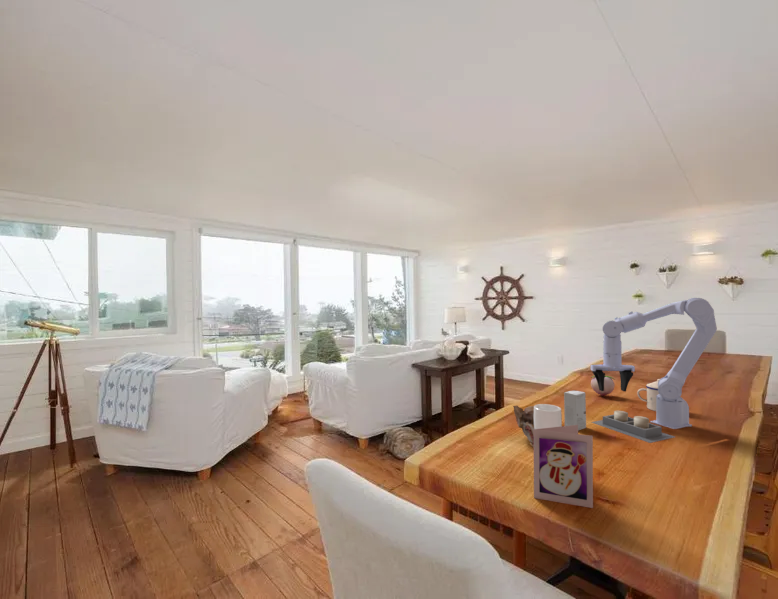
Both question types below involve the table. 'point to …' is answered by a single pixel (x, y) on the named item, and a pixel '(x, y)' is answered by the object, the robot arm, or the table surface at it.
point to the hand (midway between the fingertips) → (612, 390)
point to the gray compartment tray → (634, 429)
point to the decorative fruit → (607, 385)
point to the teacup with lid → (650, 395)
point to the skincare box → (575, 409)
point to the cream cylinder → (641, 422)
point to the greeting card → (563, 465)
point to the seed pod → (526, 421)
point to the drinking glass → (547, 416)
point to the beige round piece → (621, 416)
